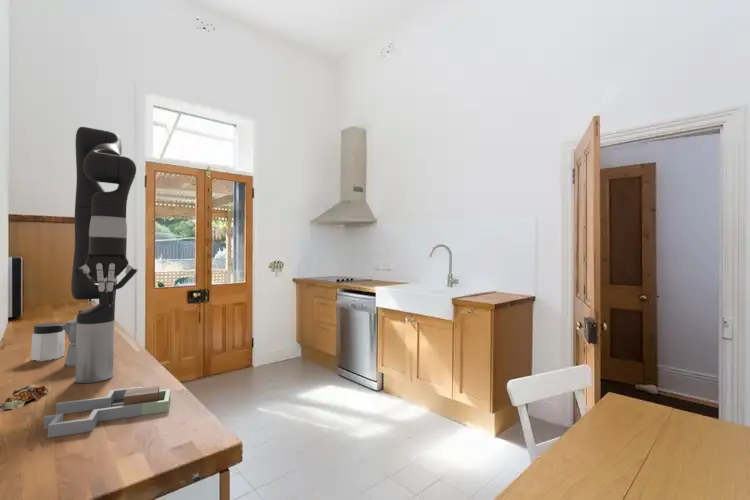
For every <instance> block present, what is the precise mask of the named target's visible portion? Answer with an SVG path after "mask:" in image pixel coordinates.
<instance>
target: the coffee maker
mask: <svg viewBox="0 0 750 500" xmlns="http://www.w3.org/2000/svg"><path fill="white" fill-rule="evenodd" d="M82 311H83V310H78V314H79V313H80V312H82ZM59 326H62V328H63V329H64V330H65V334H66V335H67V337H68V342H70V344H69V345H68V349H67V352H66V357H65V362H64V366H66V365H67V367H69V366H71V367H76V329H77V318H74V319H71V320H67V322H66V323H63V324H62V325H59Z"/></svg>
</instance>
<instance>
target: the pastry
mask: <svg viewBox="0 0 750 500" xmlns="http://www.w3.org/2000/svg"><path fill="white" fill-rule="evenodd" d="M45 392H46V393H49V390H48V388H47V387H46V386H45V385H41V386H38V387H37V386H36V385H35V384H33V385H24V386H23V387H22V386H21V387H20V388H18V389H15V390H14V391H13V392H11V393H12V394H11V395H9V396H8V397H6V398H5V401H4V403H1V404H0V412H2V411H5V410H13V411H14V410H16V409H20V408H23V407H24V405H25V403H26V402H29V401H31V400H33V399H34V400H35V401H39V400H42V399H43V398H44V394H45Z"/></svg>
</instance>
